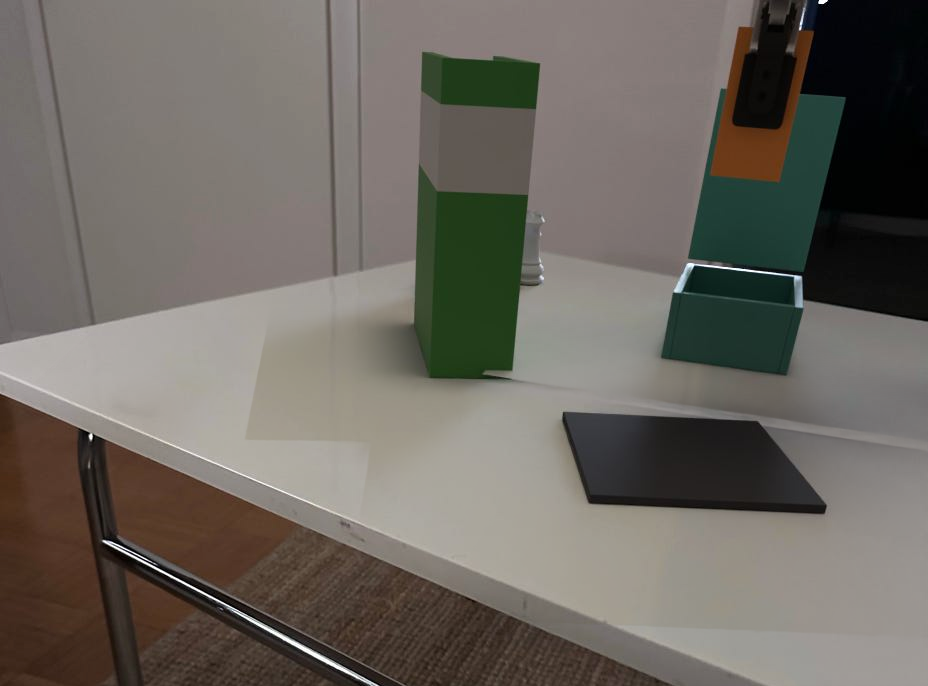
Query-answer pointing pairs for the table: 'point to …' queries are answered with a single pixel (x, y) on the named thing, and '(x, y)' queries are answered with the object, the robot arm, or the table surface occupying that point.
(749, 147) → the carton
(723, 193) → the lunchbox lid
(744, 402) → the table surface
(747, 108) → the robot arm
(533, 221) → the rook chess piece
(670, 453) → the mat
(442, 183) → the green and white box
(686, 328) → the lunchbox
